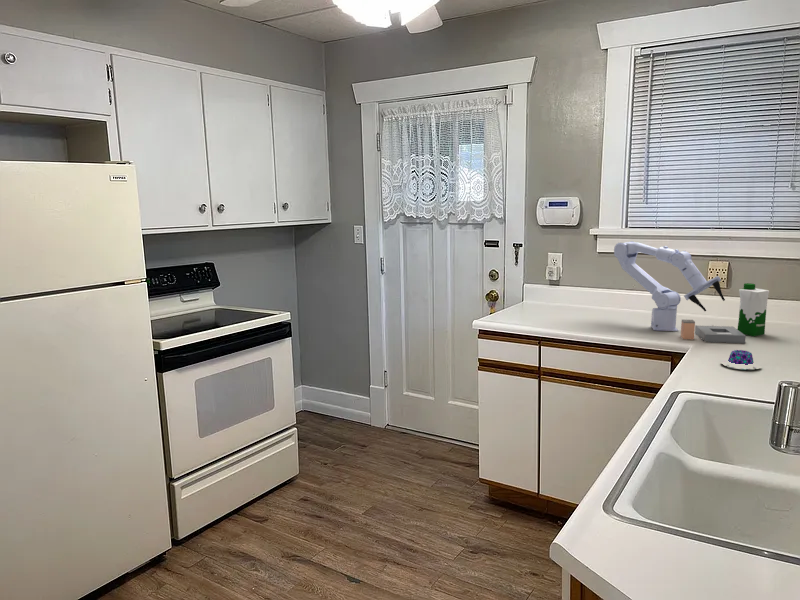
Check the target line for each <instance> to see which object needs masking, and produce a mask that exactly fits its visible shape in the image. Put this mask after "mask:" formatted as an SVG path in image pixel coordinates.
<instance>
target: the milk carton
mask: <svg viewBox="0 0 800 600" xmlns="http://www.w3.org/2000/svg"><path fill="white" fill-rule="evenodd" d="M738 292H739V299H740V301H739V310H738V311H739V314H738V321H737V322H738V323H737V328H736V329H737V330H739V331H740V332H741V333H743V334H744V335H746V336H751V337H757V336H765V335H766V334H765V333H766V320H767V319H766V318H767V317H766V316H767V309H768V299H769V296H770V290H768V289H763V288H756V283H752V282H751V283H749V282H748V283H745V282H744V283H743V288H741V289H740V288H739V290H738Z"/></svg>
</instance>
